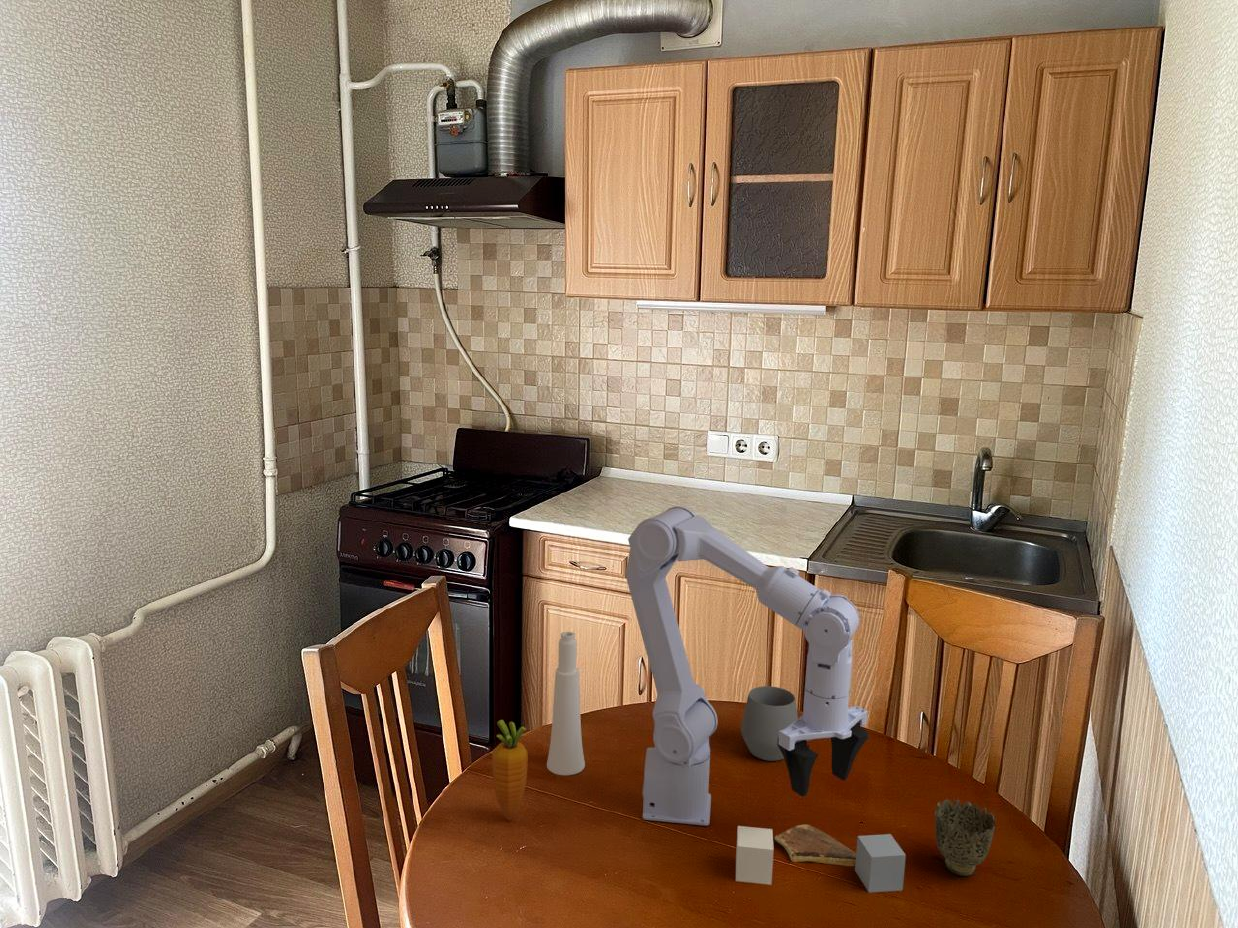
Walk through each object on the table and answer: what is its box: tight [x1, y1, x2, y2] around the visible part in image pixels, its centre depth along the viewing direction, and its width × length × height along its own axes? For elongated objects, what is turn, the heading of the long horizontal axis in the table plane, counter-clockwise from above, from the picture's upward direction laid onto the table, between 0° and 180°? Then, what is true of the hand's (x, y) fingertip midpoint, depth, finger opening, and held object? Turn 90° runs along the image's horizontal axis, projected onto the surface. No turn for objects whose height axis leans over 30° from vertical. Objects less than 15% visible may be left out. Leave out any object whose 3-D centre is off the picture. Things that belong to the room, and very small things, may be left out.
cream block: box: [735, 825, 775, 886], centre depth 116 cm, size 4×4×5 cm
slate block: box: [854, 833, 907, 893], centre depth 115 cm, size 4×4×5 cm
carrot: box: [491, 719, 529, 822], centre depth 125 cm, size 5×5×15 cm
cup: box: [740, 685, 799, 762], centre depth 146 cm, size 10×9×10 cm
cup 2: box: [934, 798, 996, 877], centre depth 117 cm, size 8×7×8 cm
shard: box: [774, 824, 856, 867], centre depth 120 cm, size 11×8×2 cm
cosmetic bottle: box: [546, 631, 586, 776], centre depth 140 cm, size 6×6×22 cm
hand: (819, 784), depth 120 cm, fingers open, 7 cm apart
